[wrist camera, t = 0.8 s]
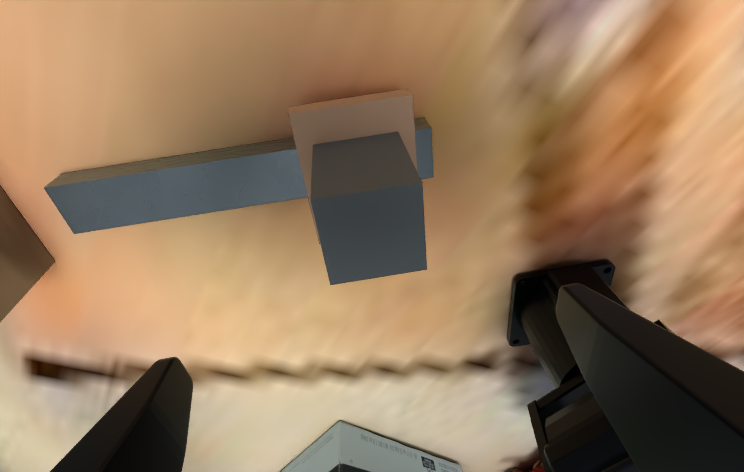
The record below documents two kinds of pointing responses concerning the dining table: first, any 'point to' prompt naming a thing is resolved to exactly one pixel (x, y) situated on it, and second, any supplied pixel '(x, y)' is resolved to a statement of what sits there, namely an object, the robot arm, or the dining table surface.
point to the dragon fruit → (534, 467)
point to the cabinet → (18, 256)
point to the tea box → (364, 454)
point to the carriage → (363, 183)
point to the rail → (193, 183)
